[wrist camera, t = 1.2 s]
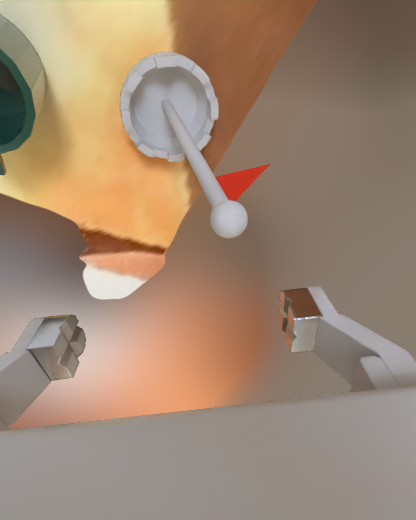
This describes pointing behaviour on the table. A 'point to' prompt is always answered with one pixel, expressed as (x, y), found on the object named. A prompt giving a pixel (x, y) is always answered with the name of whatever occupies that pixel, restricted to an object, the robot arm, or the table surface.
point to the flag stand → (183, 129)
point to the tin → (18, 88)
